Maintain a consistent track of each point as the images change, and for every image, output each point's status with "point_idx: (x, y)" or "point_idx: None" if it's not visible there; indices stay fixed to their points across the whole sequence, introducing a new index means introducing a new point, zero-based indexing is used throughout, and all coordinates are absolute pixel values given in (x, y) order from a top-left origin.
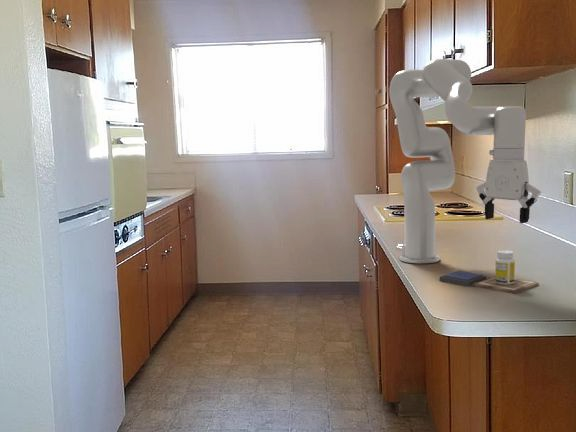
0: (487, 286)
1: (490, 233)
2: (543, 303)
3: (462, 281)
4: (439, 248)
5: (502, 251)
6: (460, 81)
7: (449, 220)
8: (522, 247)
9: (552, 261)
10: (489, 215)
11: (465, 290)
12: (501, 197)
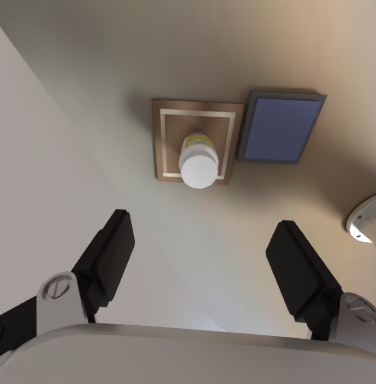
0: (212, 103)
1: (302, 334)
2: (78, 63)
3: (267, 92)
4: (354, 277)
5: (205, 172)
6: None
7: None
8: (254, 308)
9: (203, 279)
10: (281, 240)
11: (243, 49)
12: (217, 350)
